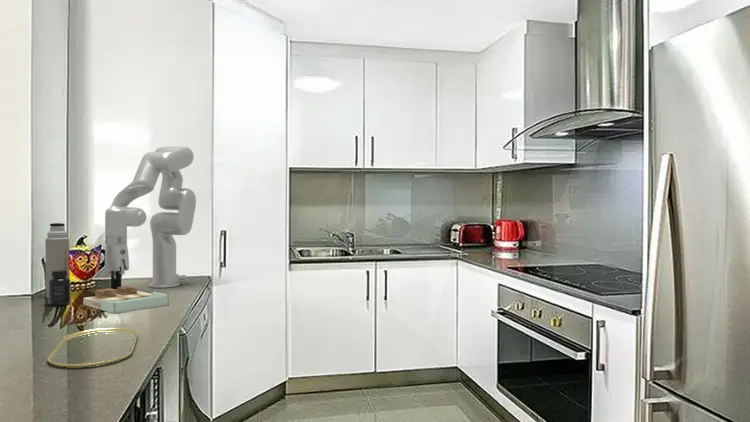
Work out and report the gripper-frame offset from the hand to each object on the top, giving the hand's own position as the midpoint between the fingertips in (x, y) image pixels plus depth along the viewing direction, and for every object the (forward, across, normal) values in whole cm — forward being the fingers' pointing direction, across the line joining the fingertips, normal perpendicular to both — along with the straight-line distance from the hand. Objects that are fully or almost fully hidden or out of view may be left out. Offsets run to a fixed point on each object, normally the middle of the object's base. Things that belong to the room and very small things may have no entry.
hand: (116, 288), depth 214 cm
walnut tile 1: (+1, -8, 0) cm, 8 cm away
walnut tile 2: (+1, -8, +8) cm, 11 cm away
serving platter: (+4, -62, +37) cm, 73 cm away
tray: (+4, -21, +4) cm, 22 cm away
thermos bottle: (+4, +19, +13) cm, 23 cm away
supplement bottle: (+4, +3, +19) cm, 20 cm away
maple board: (+4, -10, +4) cm, 11 cm away
